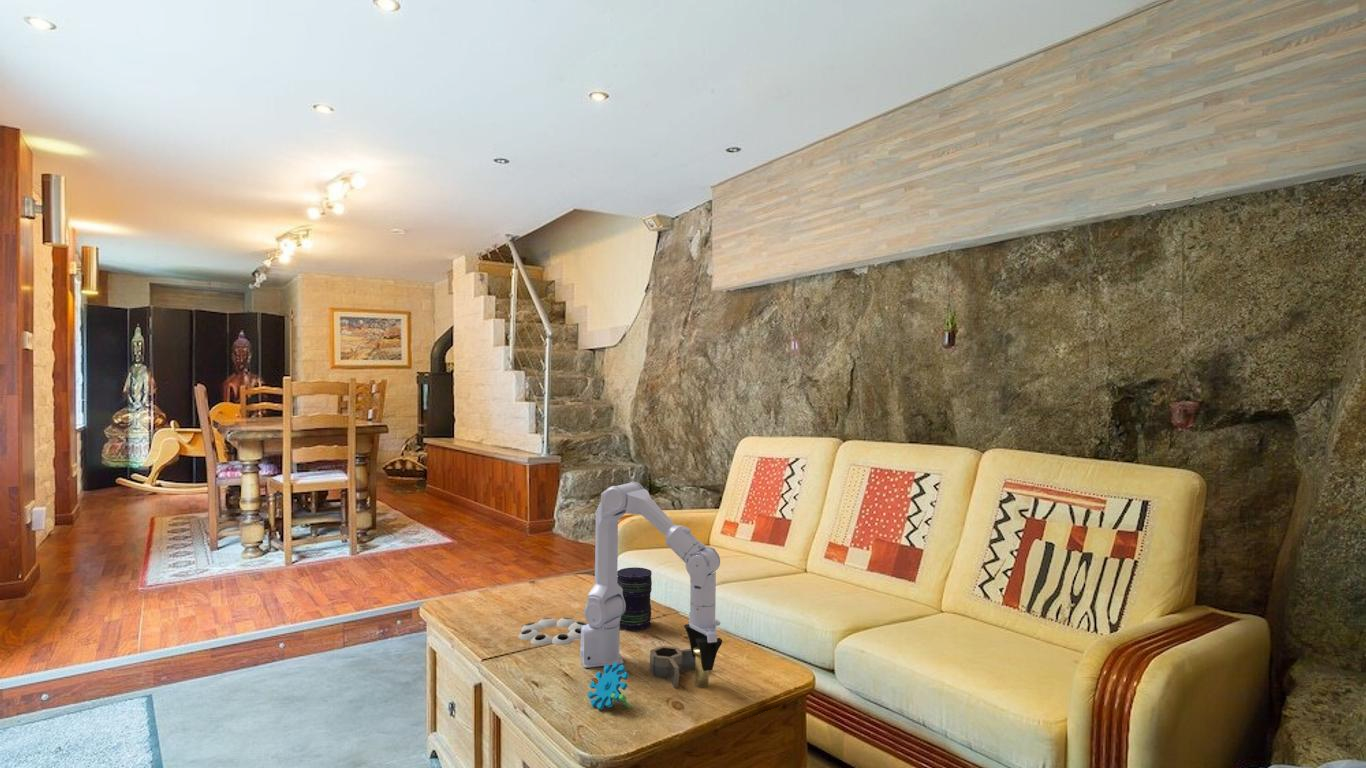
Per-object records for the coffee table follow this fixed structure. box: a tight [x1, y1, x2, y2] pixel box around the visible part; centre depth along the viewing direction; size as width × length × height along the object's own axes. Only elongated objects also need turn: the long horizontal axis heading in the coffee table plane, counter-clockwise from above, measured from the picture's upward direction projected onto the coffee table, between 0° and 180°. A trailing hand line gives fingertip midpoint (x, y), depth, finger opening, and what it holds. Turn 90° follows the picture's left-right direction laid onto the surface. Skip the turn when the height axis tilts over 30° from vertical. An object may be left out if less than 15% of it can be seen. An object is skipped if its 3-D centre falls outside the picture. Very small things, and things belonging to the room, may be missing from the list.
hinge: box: [649, 645, 695, 689], centre depth 160 cm, size 13×13×4 cm
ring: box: [517, 617, 588, 646], centre depth 186 cm, size 20×20×2 cm
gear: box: [587, 662, 632, 711], centre depth 146 cm, size 11×6×10 cm
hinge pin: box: [693, 646, 710, 689], centre depth 155 cm, size 4×4×8 cm
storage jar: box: [617, 567, 653, 632], centre depth 192 cm, size 10×10×15 cm
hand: (702, 663), depth 155 cm, fingers open, 7 cm apart
